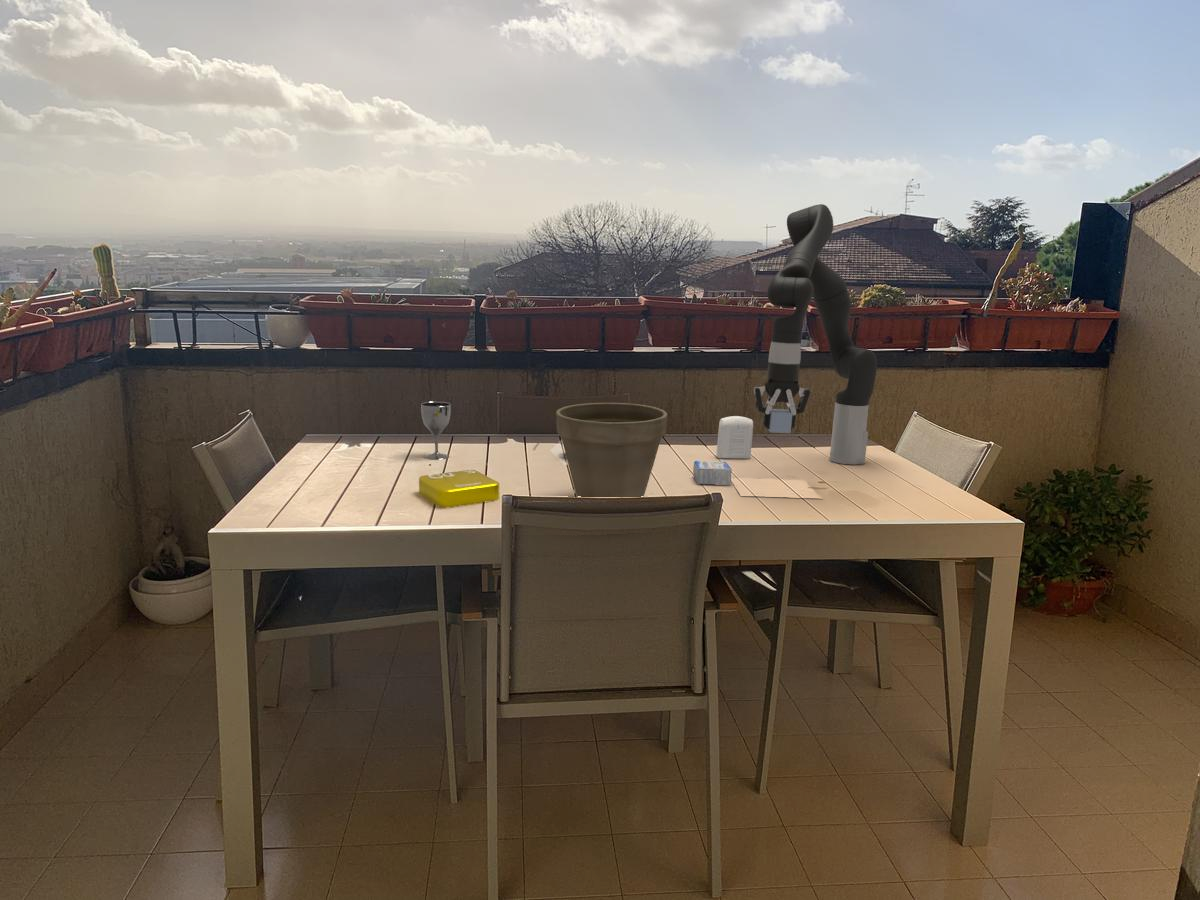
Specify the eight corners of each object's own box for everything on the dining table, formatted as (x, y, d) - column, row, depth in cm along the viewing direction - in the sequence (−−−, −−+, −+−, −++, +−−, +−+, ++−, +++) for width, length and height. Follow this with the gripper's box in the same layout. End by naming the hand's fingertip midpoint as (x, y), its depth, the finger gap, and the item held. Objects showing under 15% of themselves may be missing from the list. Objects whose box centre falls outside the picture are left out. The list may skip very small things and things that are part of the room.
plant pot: (544, 515, 168) (545, 417, 163) (564, 485, 192) (566, 399, 187) (658, 523, 165) (664, 424, 160) (665, 492, 189) (670, 404, 184)
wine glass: (416, 458, 214) (415, 404, 211) (432, 452, 221) (431, 400, 218) (440, 461, 211) (439, 407, 208) (456, 455, 218) (456, 403, 215)
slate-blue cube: (785, 429, 195) (787, 409, 194) (790, 433, 190) (792, 413, 189) (766, 428, 195) (767, 408, 194) (770, 432, 190) (772, 412, 189)
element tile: (441, 510, 170) (440, 489, 169) (416, 493, 182) (416, 474, 181) (502, 501, 179) (502, 481, 177) (474, 485, 191) (474, 466, 190)
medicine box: (732, 468, 196) (698, 467, 195) (730, 485, 197) (696, 484, 196) (726, 461, 203) (693, 460, 203) (725, 477, 204) (692, 476, 204)
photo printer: (748, 456, 230) (751, 415, 227) (752, 459, 226) (756, 417, 223) (714, 456, 228) (717, 414, 226) (718, 459, 224) (721, 417, 221)
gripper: (809, 360, 192) (803, 427, 196) (752, 358, 192) (746, 425, 196) (817, 363, 185) (810, 433, 189) (757, 361, 185) (752, 431, 189)
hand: (778, 428), depth 193 cm, fingers closed on slate-blue cube, 5 cm apart
